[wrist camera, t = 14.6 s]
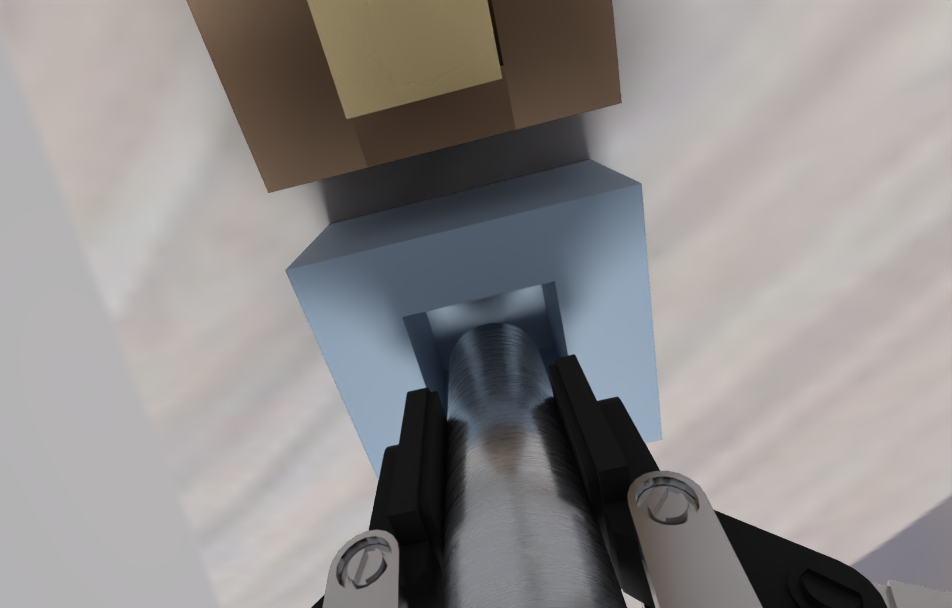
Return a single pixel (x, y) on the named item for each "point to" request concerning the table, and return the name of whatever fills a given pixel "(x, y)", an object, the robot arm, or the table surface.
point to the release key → (404, 49)
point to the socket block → (410, 125)
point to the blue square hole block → (485, 291)
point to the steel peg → (515, 487)
